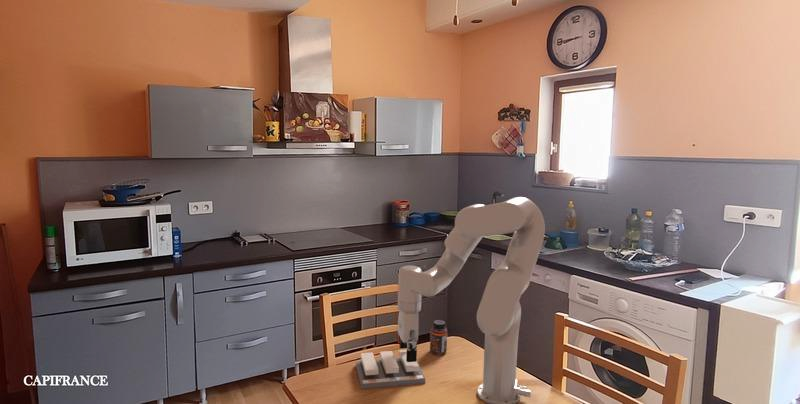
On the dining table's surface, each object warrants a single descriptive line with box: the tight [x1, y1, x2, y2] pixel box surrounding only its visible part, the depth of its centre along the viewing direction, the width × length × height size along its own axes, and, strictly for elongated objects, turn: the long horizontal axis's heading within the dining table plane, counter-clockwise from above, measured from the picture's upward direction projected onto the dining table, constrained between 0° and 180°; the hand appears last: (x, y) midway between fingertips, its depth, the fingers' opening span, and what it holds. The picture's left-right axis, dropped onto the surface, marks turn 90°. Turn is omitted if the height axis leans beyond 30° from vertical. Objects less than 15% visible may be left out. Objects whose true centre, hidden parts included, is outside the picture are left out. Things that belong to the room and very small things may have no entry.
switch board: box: [355, 357, 426, 390], centre depth 159 cm, size 20×15×2 cm
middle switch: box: [379, 350, 399, 374], centre depth 160 cm, size 4×12×2 cm, turn 12°
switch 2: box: [398, 349, 420, 372], centre depth 161 cm, size 4×12×2 cm, turn 12°
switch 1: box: [360, 352, 378, 375], centre depth 158 cm, size 4×12×2 cm, turn 12°
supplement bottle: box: [429, 319, 448, 356], centre depth 175 cm, size 6×6×11 cm
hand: (407, 354), depth 161 cm, fingers open, 9 cm apart
